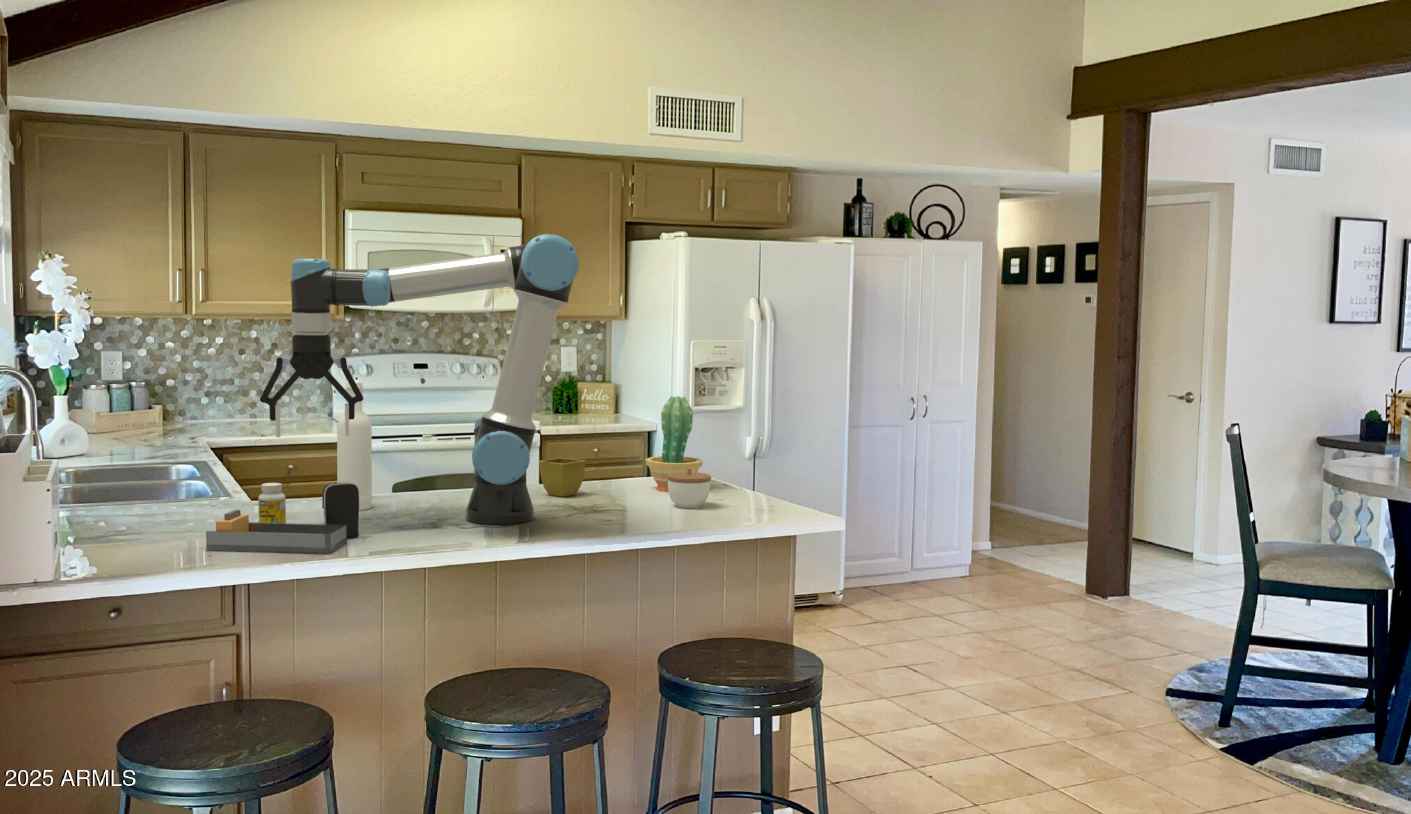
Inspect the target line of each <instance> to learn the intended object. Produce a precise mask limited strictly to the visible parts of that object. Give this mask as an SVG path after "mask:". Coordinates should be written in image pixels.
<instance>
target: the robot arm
mask: <svg viewBox="0 0 1411 814" xmlns="http://www.w3.org/2000/svg"><path fill="white" fill-rule="evenodd" d="M579 263H580V262H579V256H578V251H576V248H575V247H574V246H573V244H572V243H571V242H570V241H569V240H567V239H566V238H565V237H562V236H560V235H557V234H553V233H544V234H540V235H537V236H535V237H533V238H532V239H531V240H530V241H528V243H524V244H520V245H517V246H510V247H507V248H506V249H505V250H504V252H500V253H492V254H485V255H476V256H468V257H461V258H454V259H446V260H445V259H444V260H438V261H430V262H424V263H422V262H421V263H415V264H409V265H402V266H401V265H400V266H395V267H394V266H392V267H386V268H385V267H384V268H378V269H377V268H376V269H374V268H370V269H363V268H361V269H352V268H351V269H350V268H349V269H347V268H346V269H342V268H341V269H339V268H331V266H330V261H329V260H328V259H326V258H325V259H324V258H296V259H294V260H293V261H292V263H291V279H290V292H291V331H292V332H293V333H294V334H293V335H292V336H291V339H292V341H291V346H292V355H291V358H287V357H286V358H285V357H282V356H278V357H277V358H276V362H275V368H274V370H273V372H272V375H270V376H271V377H270V379H269V380H268V382H267V384H266V386H265V388H264V390H263V392H262V393H261V395H260V397H259V401H260V402H261V403H264V404H267V405H268V407H269V420H270V421H271V422H272V421H273V422H275V438H280V437H281V405H280V404H277V403H278V402H279V400H280V399H281V398H282V397H283V396H284V395H285V393H286V392H287V391H288V390H289V389H290V388H291V387H292V386H293V384H294V383H295V382H296V381H297V380H298V379H299V378H301V379H304V380H310V379H314V380H321V379H323V378H325V379H326V380H327V381H328V382H329V383H330V385H332V387H334V389H335V390H336V391H337V392H338V393H339V394H340V395H341V396H342V397H343V398H344V399H345V402H346V401H347V402H348V404H346V403H344V412H345V436H349V420H352V419H354V417H355V404H356V403H357V402H360V401H362V402H363V401H364V395H363V393H362V394H361V392H360V390H359V388H358V386H357V384H356V383H355V381H354V380H355V379H354V377H353V375H352V373H351V372H350V370H349V368H348V363H347V361H348V360H347V358H346V357H345V356H342V357H336V358H333V357H332V354H331V352H332V351H331V350H332V347H331V346H332V344H331V343H332V342H331V341H332V340H331V339H332V337H331V336H330V335H329V334H328V333H330V332H331V306H352V307H353V306H354V307H355V306H356V307H360V306H361V307H371V308H373V307H379V306H380V307H385V306H387V305H388V304H390V303H395V302H403V301H411V300H417V299H424V298H425V299H426V298H433V297H439V296H446V295H447V296H448V295H454V294H456V295H457V294H462V293H463V294H464V293H470V292H478V291H485V290H492V289H501V288H507V287H508V288H511V289H512V290H513V292H514V293H515V295H516V297H517V299H518V303H517V307H516V310H515V315H514V319H513V322H512V325H511V326H512V327H511V331H510V334H509V339H508V342H507V347H506V350H505V354H504V359H503V362H502V366H501V370H500V375H499V379H498V383H497V386H496V390H495V394H494V398H493V401H492V406H491V408H490V409H489V410H487V412H485V413H483V414H482V416H481V417H480V418H478V419H476V420H475V422H474V428H473V434H474V445H473V446H474V447H473V450H472V453H471V459H472V460H471V461H472V466H473V468H474V471H473V473H474V474H473V475H474V478H473V480H474V482H473V484H474V485H473V488H472V491H471V494H470V497H469V500H468V503H467V506H466V509H465V510H466V512H465V517H466V521H469V522H472V523H474V524H475V523H476V524H484V525H513V524H514V525H515V524H520V523H521V524H522V523H527V522H530V521H533V519H534V517H535V513H534V511H535V509H534V505H533V502H532V500H531V499H532V498H531V497H530V492H529V489H528V487H527V469H528V468H529V465H530V460H531V458H530V456H531V455H530V454H531V449H532V445H533V441H534V436H535V433H536V428H537V426H536V424H535V423H534V421H533V419H532V415H533V412H534V409H535V404H536V399H537V397H538V393H539V388H540V385H541V381H542V375H543V372H544V369H545V364H546V360H547V356H548V352H549V349H550V344H551V341H552V337H553V332H554V329H555V325H556V322H557V316H558V312H559V311H560V309H562V308H564V307H565V306H567V305H568V303H569V298H570V294H571V292H572V287H573V284H574V283H573V282H574V280H575V278H576V276H577V274H578V271H579ZM288 365H291V367H292V368H293V369H294V372H293V373H292V375H290V377H289V378H288V379H287V380H286V382H285V383H283V385H282V386H281V387H280V388H279V389H278V391H277V392H276V393H275V394H274V395H273V396H272V397H269V396H270V394H271V392H272V390H273V388H274V386H275V383H277V380H278V379H279V376H280V375H281V373H282V370H283V369H286V368H287V366H288ZM333 365H335V366H336V367H337V368H338V369H341V370H342V373H343V375H344V377H345V379H346V382H347V381H348V383H349V384H350V386H351V388H352V390H353V392H354V394H355V397H351V395H350V394H349V393H348V392H347V391H346V388H344V387H343V385H341V383H340V382H339V381H338V380H337V378H335V376H334V375H333V374H332V373H331V372H330V369H331V368H332V366H333Z"/></svg>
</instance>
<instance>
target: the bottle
mask: <svg viewBox="0 0 1411 814" xmlns="http://www.w3.org/2000/svg"><path fill="white" fill-rule="evenodd" d="M354 381H355V383H356V384H357V386H358V388H359V390H360V392H361V394H362V395H363V390H364V389H363V388H364V386H363V381H362V380H355V379H354ZM345 390H346V391H347V392H348V393H349V394H350V395H351V397H355V394H354V392H353V390H352V388H351V386H350V384H349V383H348V381H347V380H346V383H345ZM345 402H346V403H345V404H348V402H347V401H346V400H345ZM372 427H373V426H372V423H371V420H370V417H369V416H368V415H367V414H366V413H365V412H364V411H363V400H362V401H360V402H357V403H356V404H355V417H354V419H352V420H349V436H345V411H344V412H343V413H342V414H341V415H340V416H339V419H338V421H337V425H336V430H337V431H336V440H337V441H336V443H337V444H336V447H337V448H336V451H337V453H336V454H337V455H336V457H337V459H336V463H337V465H336V467H337V469H336V471H337V472H336V473H337V475H336V476H337V478H336V479H337V482H336V483H353V484H355V485H356V486H357V487H358V490H359V512H360V511H367V510H370V509H372V507H373V504H372V503H373V493H372V491H373V485H372V482H373V481H372V480H373V477H372V475H373V474H372V473H373V472H372V468H373V466H372V464H373V462H372V461H373V460H372V459H373V457H372V456H373V455H372V450H373V449H372V448H373V447H372V445H373V444H372V443H373V440H372V437H373V436H372V432H373V431H372Z"/></svg>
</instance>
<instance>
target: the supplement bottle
mask: <svg viewBox="0 0 1411 814" xmlns="http://www.w3.org/2000/svg"><path fill="white" fill-rule="evenodd" d="M282 487H283V485H282V483H279V482H266V483H261V492H262V493H260V494H259V495H258V522H259V523H287V517H286V516H287V511H286V509H287V508H286V506H287V504H286V501H287V500H286V495H285V494H284V493H283V492H281V491H282V489H283V488H282Z"/></svg>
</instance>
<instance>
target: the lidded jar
mask: <svg viewBox="0 0 1411 814" xmlns="http://www.w3.org/2000/svg"><path fill="white" fill-rule="evenodd" d="M667 479H668V495H669V498H670V499H671V502H672V503H673V504H675V506H676V507H677V508H680V509H698V508H699V509H700V508H701V507H702V505H703V504H704V503H705V502H706V501H707V499H708V497H709V494H710V490H711V480H712V476H711V475H710V474H708V473H706V472H705V473H704V472H691V468H688V469H687V472H676V473H670V474H668V475H667Z"/></svg>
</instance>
